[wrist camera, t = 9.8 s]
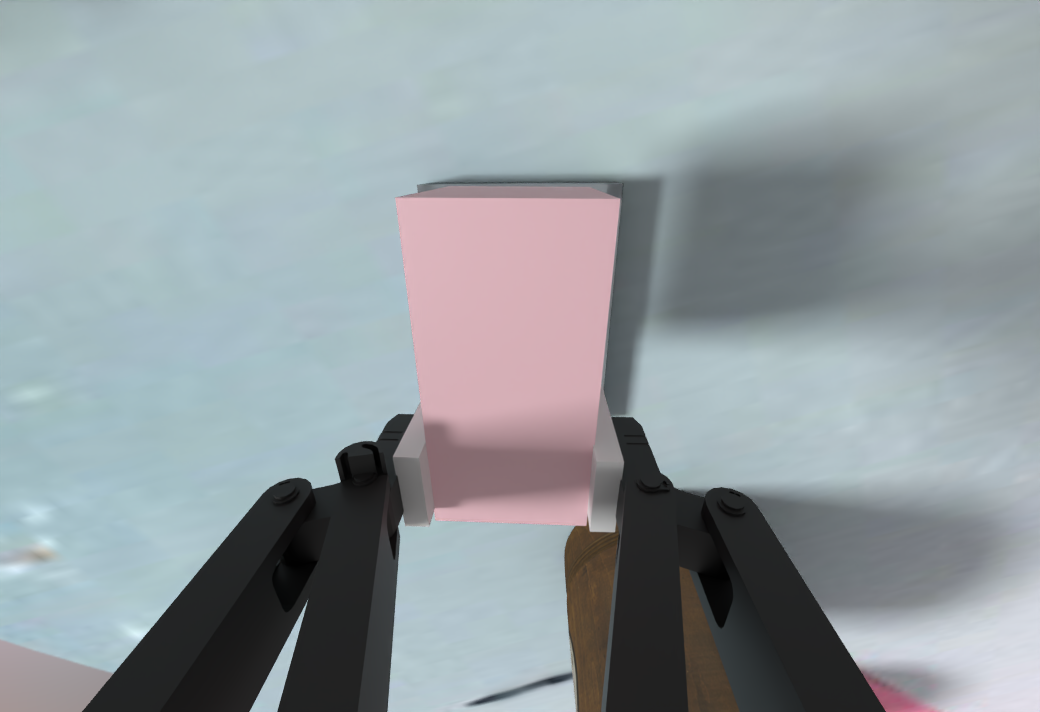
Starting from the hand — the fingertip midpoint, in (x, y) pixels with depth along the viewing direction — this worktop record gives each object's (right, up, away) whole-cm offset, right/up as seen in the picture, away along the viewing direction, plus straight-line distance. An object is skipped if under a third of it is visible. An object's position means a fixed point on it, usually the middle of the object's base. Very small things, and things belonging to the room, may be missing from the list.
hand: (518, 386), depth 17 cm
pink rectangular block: (0, +3, -1) cm, 3 cm away
